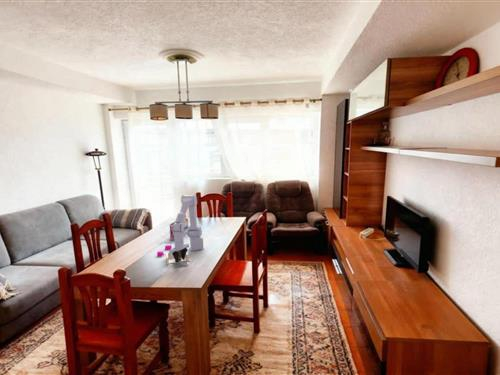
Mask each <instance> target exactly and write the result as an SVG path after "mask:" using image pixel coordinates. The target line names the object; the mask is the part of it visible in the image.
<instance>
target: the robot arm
mask: <svg viewBox="0 0 500 375" xmlns="http://www.w3.org/2000/svg"><path fill="white" fill-rule="evenodd" d="M180 202H181V207H180V211H179V213H177V215H176V219H175V221H174V222H175V223H174V222H173V223H174V224H173V225H172V231H173V234H174V239H173V240H174V242H173V243H174V247H173V248H171V249H170V250H168V252H169V253H170V254H172V255H173V256H174V258H175V261H176V262H177V263H179V262H178V256H179V253H177V251H179V250H180V251H181V257H182V259H183V260H185V255H186V252H187V253H188V251H189V250H190V251H191V252H192V251H193V252H194V251H199V250H204V238H203V230H202V227H201V226H200V225H199V224H198V223H197V222H198V221H197V208H196V205H198V197H197V196H196V195H195V194H194V195H193V194H182V195H181V197H180ZM187 211H188V214H189V225H188V231H187V233H186V235H187V237H188V238H189V242H190V244H189V243H186V244H184V236H183V231H184V225H185V224H184V222H185V219H187V215H186V214H187ZM188 248H189V250H188Z"/></svg>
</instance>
